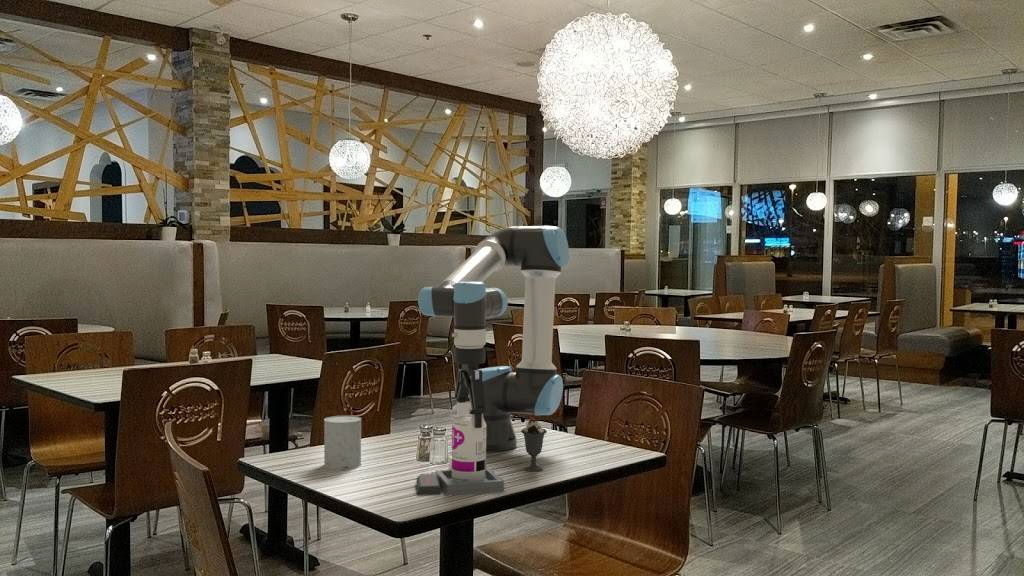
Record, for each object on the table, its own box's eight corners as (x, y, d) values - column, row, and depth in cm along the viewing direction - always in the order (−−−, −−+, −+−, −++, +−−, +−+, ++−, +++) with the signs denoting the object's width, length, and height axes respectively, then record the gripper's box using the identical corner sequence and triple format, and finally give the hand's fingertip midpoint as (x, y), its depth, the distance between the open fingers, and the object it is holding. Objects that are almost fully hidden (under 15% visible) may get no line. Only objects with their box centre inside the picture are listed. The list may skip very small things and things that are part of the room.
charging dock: (483, 472, 207) (484, 452, 207) (504, 491, 190) (504, 470, 190) (431, 476, 203) (431, 456, 203) (447, 496, 186) (447, 474, 186)
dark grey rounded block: (417, 497, 186) (417, 485, 186) (415, 483, 198) (415, 472, 198) (440, 496, 187) (440, 484, 187) (437, 482, 199) (437, 471, 199)
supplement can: (458, 486, 190) (459, 422, 189) (446, 478, 197) (447, 416, 197) (490, 483, 193) (491, 420, 193) (477, 474, 201) (478, 414, 200)
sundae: (532, 464, 216) (533, 408, 215) (551, 469, 211) (552, 412, 210) (515, 469, 211) (515, 411, 211) (533, 474, 206) (534, 415, 206)
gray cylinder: (352, 471, 207) (352, 423, 207) (317, 469, 209) (317, 421, 209) (366, 462, 217) (366, 416, 216) (333, 460, 219) (333, 414, 218)
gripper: (442, 341, 205) (443, 424, 206) (467, 353, 181) (467, 448, 182) (471, 340, 207) (471, 423, 208) (499, 352, 183) (499, 445, 184)
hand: (469, 434), depth 195 cm, fingers open, 13 cm apart
